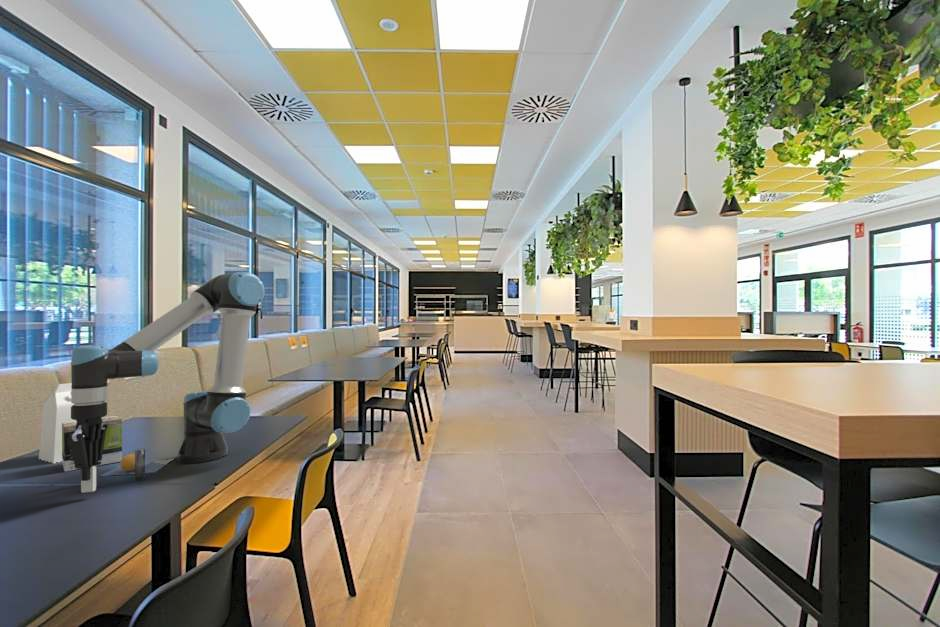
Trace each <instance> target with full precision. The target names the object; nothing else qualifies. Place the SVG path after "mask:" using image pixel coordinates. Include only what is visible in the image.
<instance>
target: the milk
mask: <svg viewBox="0 0 940 627" xmlns="http://www.w3.org/2000/svg"><path fill="white" fill-rule="evenodd" d="M71 385H72V382H69V383H58V384H56V387H55V389H54V391H53V393H52V394H51V395H50V396H49V398H47V400H46V401H45V402H44V405H43V406H42V407H43V408H42V418H41V429H40V441H39V452H38V454H39V455H38V460H40V459H41V461H44V460H45V461H44V462H47V461H48V463H50V462H52V463H51V464H57V463H56V462H58V463H62V462H61V461H62V423H64V422H72V421H76V420H73V419H71V407H72V405H74V404H73V403H71V394H70V393H71V390H72V388H71Z"/></svg>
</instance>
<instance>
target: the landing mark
mask: <svg viewBox="0 0 940 627" xmlns="http://www.w3.org/2000/svg"><path fill="white" fill-rule="evenodd" d="M154 462H155V461H153V462H150V463H149V464H147V465H146V466H145V474H156V472H158V471H160V470H161V469H163V468H165V467H166V466H167V465H168V464H160V463H154ZM165 465H166V466H165ZM162 467H163V468H162ZM159 469H160V470H159ZM127 474H130V475H135V471H131V472H126V471H124V470H122V469H121V467H120V464H119V465H118V466H116V467H114V468H112V469H110V470H108V471H107V472H105V473H103V474H102V475H100V476H101V477H112V476H113V475H116V476H128V475H127ZM113 477H114V476H113Z"/></svg>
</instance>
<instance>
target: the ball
mask: <svg viewBox="0 0 940 627" xmlns="http://www.w3.org/2000/svg"><path fill="white" fill-rule="evenodd" d="M119 465H120V467H121V469H122V470H124V471H126V472H131V471H135V453H128V454H127V455H125V456H122V460H121V462H119Z"/></svg>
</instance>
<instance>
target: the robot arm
mask: <svg viewBox="0 0 940 627" xmlns="http://www.w3.org/2000/svg"><path fill="white" fill-rule="evenodd" d="M265 294H266V293H265V286H264V282H262V280H260V278H259V277H258V276H257V275H256V274H253V273H252V272H248V271H247V272H246V271H245V272H243V271H237V272H234V273H233V272H232V273H227V274H226V273H225V274H219V275H216V276H215V277H213V278H211V279H210V280H208V281H207V282H206V283H204V284H202V285H201V286H199V287H198V288H196V289H195V290H194V291H193V292H190V297H188V298H187V299H185V300H184V301H183V302H181V303H179V304H177V306H175V307H173V308H172V309H170V310H168V312H166V313H165V314H163V315H162V316H160V317H159V318H156V319H155V320H153V321H152V322H151V323H149V324H147V326H145V327H143V328H141V329H140V330H139V331H137V332H135V333H133V335H131V336H129V337H128V338H127V339H125V340H124V341H122V342H120V343H119V344H117V345H116V346H114V347H112V348H110V349H108V346H106V345H79V346H75V347H74V348H73V349H72V351H71V361H70V368H71V370H70V372H71V379H70V380H71V383H72V385H71V388H72V390H71V393H70V394H71V403H73V404H74V405H72V407H71V419H73V420H76V421H77V424H76V427H75V429H76V431H75V433H74V434H70V435H69V440H70V442H71V446H72V452H73V458H74V464H75V468H76V469H77V470H80V493H93V492H95V491H96V490H97V483H96V465H98V466H101V465H100V464H101V462H98V461H101V460H102V455H103V448H104V441H105V434H106V430H107V427H108V424H102V417H107V415H108V403H107V401H108V384H109V383H108V380H115V379H126V378H129V379H130V378H138V377H141V378H144V377H146V376H147V377H148V376H153V375H155V374H156V373H157V372H158V370H159V365H160V360H159V356H158V354H157V352H155V351H156V350H157V349H158V348H161V347H162V346H163V345H164V344H167V342H169V341H170V340H172V339H173V338H175V337H176V336H178V335H179V334H180V333H182V332H183V331H184V330H186V329H187V328H189V327H190V326H192V324H194V323H196V322H197V321H199V320H201V318H203V317H204V316H206V315H209V316H210V315H212V314H214V313H215V312H217V311H219V312H220V313H221V315H222V316H221V317H222V318H221V325H220V330H219V331H220V333H219V340H218V346H217V355H216V364H215V371H214V380H213V385H212V386H211V387H210V388H208V389H207V390H205V391H204V390H203V391H196V392H188V393H186V394H185V396H184V398H183V403H182V404H183V438H182V441H181V444H180V447H179V450H178V453H177V461H178V462H180V463H185V464H195V463H196V464H197V463H205V462H210V460H211V461H214V460H218V458H219V459H221V458H224V457H225V455H226V454H227V453H228V452H229V451H228V449H229V448H228V444H227V441H226V439H225V437H224V433H225V434H230V433H235V432H238V431H239V430H240V429H242V428H243V427H244V426H245V425H246V424H247V423H248V421H249V419H250V416H251V405H250V404H249V403H248V401H247V400H246V397H247V391H246V390H245V388H244V386H243V381H244V380H243V379H244V372H245V366H246V365H245V364H246V358H247V357H246V356H247V349H248V347H247V346H248V339H249V330H250V323H251V317H253V316H254V315H255V314H257V305H259V304H260V303H261V302H262V301H263V300H264V298H265ZM227 455H228V454H227ZM227 455H226V456H227ZM223 456H224V457H223ZM80 468H81V469H80Z"/></svg>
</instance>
